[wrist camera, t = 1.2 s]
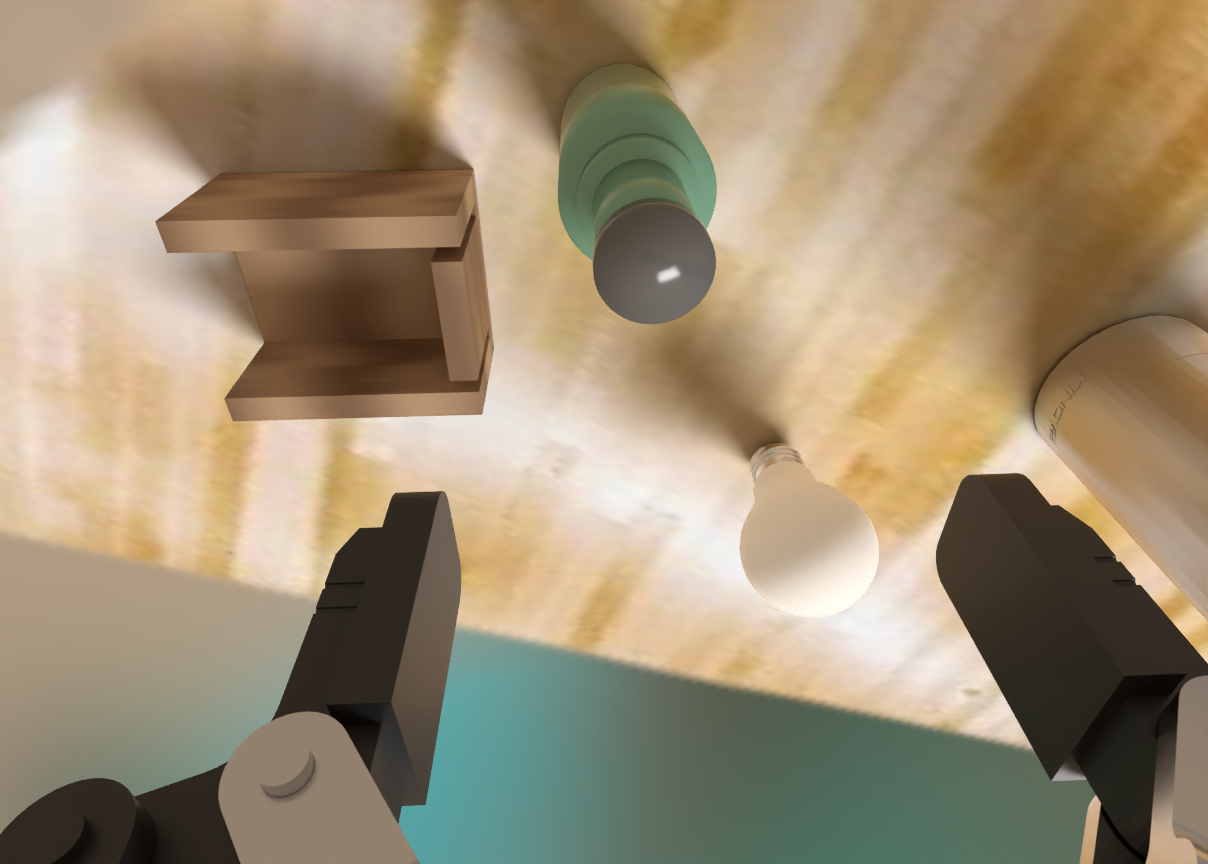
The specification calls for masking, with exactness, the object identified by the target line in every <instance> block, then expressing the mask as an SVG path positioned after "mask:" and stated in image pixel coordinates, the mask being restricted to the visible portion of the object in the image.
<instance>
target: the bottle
mask: <svg viewBox="0 0 1208 864" xmlns="http://www.w3.org/2000/svg"><path fill="white" fill-rule="evenodd" d="M716 187H717V186H716V176H715V172H714V168H713V164H712V162H711V159H710V157H709V154H708V153H707V151H706V149H705V147H704V146H703V144H702V142H701V141H700V139H699V137H698V135H697V134H696V132H695V130H694V129H693V127H692V125H691V124H690V122H689V120H688V118H687V117H686V115H685V113H684V112H683V110H682V108H681V107H680V105H679V103H678V101H677V100H676V98H675V96H674V95H673V93H672V91H671V90H670V88H669V87H668V86H667V84H666V83H665V82H664V81H663V80H662V79H661V78H660V77H659V76H657V75H656V74H655V73H653V72H651V71H650V70H648V69H646V68H643V67H640V66H637V65H633V64H623V63H621V64H612V65H608V66H604V67H602V68H599V69H597V70H595V71H593V72H592V73H590V74H589V75H587V76H586V77H585V78H583V79H582V80H581V81H580V82H579V83H578V84H577V86H576V87H575V88H574V90H573V91H572V92H571V94H570V96H569V98H568V100H567V102H566V104H565V107H564V111H563V114H562V120H561V136H560V159H559V182H558V204H559V211H560V215H561V219H562V222H563V224H564V227H565V229H566V231H567V233H568V235H569V237H570V238H571V240H572V241H573V242H574V244H575V245H576V246H577V247H578V248H579V249H580V250H581V251H582V252H583V253H584V254H585V255H586V256H587V257H589V258H590V259H592V260H593V272H594V280H595V284H596V287H597V290H598V292H599V294H600V296H601V298H602V299H603V301H604V302H605V303H606V305H607V306H608V307H609V308H610V309H611V310H613V311H614V312H615V313H617V314H618V315H620V316H622V317H623V318H625V319H628V320H630V321H634V322H637V323H643V324H659V323H665V322H669V321H672V320H675V319H677V318H679V317H682V316H683V315H685V314H687V313H688V312H690V311H691V310H692V309H693V308H695V307H696V306H697V305H698V304H699V303H700V302H701V300H702V299H703V298H704V297H705V295H706V294H707V292H708V290H709V288H710V286H711V284H712V281H713V278H714V274H715V268H716V258H715V251H714V247H713V244H712V242H711V239H710V237H709V235H708V233H707V230H706V228H707V227H708V224H709V222H710V220H711V217H712V214H713V211H714V207H715V201H716Z"/></svg>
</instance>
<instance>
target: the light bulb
mask: <svg viewBox="0 0 1208 864" xmlns="http://www.w3.org/2000/svg"><path fill="white" fill-rule="evenodd" d="M750 472H751V474H752V477H753V481H754V497H755V502H754V505H753V507H752V509H751V511H750V513H749V514H748V516H747V518H746V520H745V522H744V525H743V528H742V532H741V539H740V555H741V561H742V565H743V568H744V571H745V573H746V576H747V578H748V579H749V581H750V583H751V585H752V586H753V587H754V589H755V590H756V591H757V593H758V594H759V595H760V596H761V597H762V598H763V599H765V600H766V601H767V602H768V603H770V604H771V605H773V606H774V607H776V608H777V609H780V610H782V611H784V612H787V613H789V614H792V615H795V616H800V617H825V616H830V615H833V614H836V613H839V612H841V611H843V610H845V609H847V608H848V607H850V606H851V605H853V604H854V603H855V602H857V601H858V600H859V599H860V598H861V597H862V596H863V595H864V594H865V592H866V591H867V590H868V588H869V586H870V585H871V583H872V581H873V579H874V577H875V573H876V569H877V565H878V560H879V550H878V539H877V536H876V533H875V530H874V527H873V525H872V522H871V520H870V519H869V517H868V516H867V514H866V513H865V511H864V510H863V509H862V507H861V506H860V505H859V504H858V503H857V502H856V501H854V500H853V499H852V498H851V497H849V496H848V495H847V494H846V493H844V492H842V491H840V490H837V489H835V488H833V487H831V486H829V485H826V484H824V483H821V482H819V481H817V480H816V478H815V476H814V475H813V473H812V472H811V471H810V470H809V469H808V468H807V467H806V466H805V465H804V462H803V460H802V457H801V455H800V454H799V452H798V451H797V450H795V449H794V448H793V447H791V446H790V445H788V444H784V443H773V444H768V445H766V446H763V447H760V448H759V449H758V450H757V451H756V452H755V453H754V454H753V456H752V458H751V461H750Z"/></svg>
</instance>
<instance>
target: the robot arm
mask: <svg viewBox="0 0 1208 864" xmlns="http://www.w3.org/2000/svg"><path fill="white" fill-rule="evenodd" d="M1034 420H1035V424H1036V428H1037V431H1038V433H1039V434H1040V436H1041V437H1042V439H1043V440H1044V441H1045V442H1046V443H1047V445H1048V446H1049V447H1050V448H1051V449H1052V450H1053V451H1054V452H1055V453H1056V455H1057V456H1058V457H1059V458H1060V459H1061V460H1062V461H1063V462H1064V463H1065V464H1066V466H1067V467H1068V468H1069V469H1070V470H1071V471H1072V472H1073V473H1074V474H1075V475H1076V477H1077V478H1078V479H1079V480H1080V481H1081V482H1082V484H1083V485H1084V486H1085V487H1086V488H1087V489H1088V490H1089V491H1090V492H1091V493H1092V495H1093V496H1094V497H1095V498H1096V499H1097V500H1098V501H1099V502H1100V503H1101V504H1102V506H1103V507H1104V508H1105V509H1106V510H1107V511H1108V512H1109V513H1110V514H1111V515H1112V517H1113V518H1114V519H1115V520H1116V521H1117V522H1118V523H1119V524H1120V525H1121V526H1122V528H1123V529H1124V530H1125V531H1126V532H1127V533H1128V534H1129V535H1130V536H1131V537H1132V538H1133V540H1134V541H1135V542H1136V543H1137V544H1138V545H1139V546H1140V547H1141V548H1142V549H1143V551H1144V552H1145V553H1146V554H1147V555H1148V556H1149V557H1150V558H1151V559H1152V560H1153V562H1154V563H1155V564H1156V565H1157V566H1158V567H1159V568H1160V569H1161V570H1162V571H1163V572H1164V574H1165V575H1166V576H1167V577H1168V578H1169V579H1170V580H1171V581H1172V582H1173V583H1174V585H1175V586H1176V587H1177V588H1178V589H1179V590H1180V591H1181V592H1182V593H1183V594H1184V596H1185V597H1186V598H1187V599H1188V600H1189V601H1190V602H1191V603H1192V604H1193V605H1194V606H1195V608H1196V609H1197V610H1198V611H1199V612H1200V613H1201V614H1202V615H1203V616H1204V617H1205V619H1206V620H1207V621H1208V333H1207V332H1206V331H1204V330H1203V329H1201V328H1199V327H1198V326H1196V325H1194V324H1193V323H1191V322H1189V321H1187V320H1185V319H1182V318H1177V317H1172V316H1147V317H1142V318H1136V319H1131V320H1128V321H1125V322H1122V323H1120V324H1117V325H1114V326H1111V327H1109V328H1107V329H1105V330H1103V331H1101V332H1099V333H1098V334H1096V335H1094V336H1092V337H1090V338H1089V339H1087V340H1086V341H1085V342H1083V343H1082V344H1080V345H1079V346H1077V347H1076V348H1075V349H1073V350H1072V351H1071V352H1070V353H1069V354H1068V355H1067V356H1066V357H1065V358H1064V359H1063V360H1061V361H1060V362H1059V364H1058V365H1057V366H1056V367H1055V369H1054V370H1053V371H1052V372H1051V374H1050V375H1049V376H1048V377H1047V379H1046V381H1045V383H1044V384H1043V386H1042V388H1041V390H1040V392H1039V395H1038V398H1037V401H1036V404H1035V416H1034ZM936 564H937V571H938V575H939V578H940V581H941V583H942V585H943V587H944V589H945V591H946V592H947V594H948V596H949V598H950V600H951V601H952V603H953V605H954V607H955V609H956V610H957V612H958V614H959V616H960V618H961V619H962V621H963V623H964V625H965V627H966V628H967V630H968V632H969V634H970V636H971V637H972V639H973V641H974V643H975V645H976V646H977V648H978V650H979V652H980V654H981V655H982V657H983V659H984V661H985V663H986V664H987V666H988V668H989V670H990V672H991V673H992V675H993V677H994V679H995V681H996V683H997V684H998V686H999V688H1000V690H1001V692H1002V693H1003V695H1004V697H1005V699H1006V701H1007V702H1008V704H1009V706H1010V708H1011V710H1012V711H1013V713H1014V715H1015V717H1016V719H1017V720H1018V722H1019V724H1020V726H1021V728H1022V729H1023V731H1024V733H1025V735H1026V737H1027V738H1028V740H1029V742H1030V744H1031V746H1032V747H1033V749H1034V751H1035V753H1036V755H1037V756H1038V758H1039V760H1040V762H1041V763H1042V765H1043V767H1044V769H1045V771H1046V773H1047V774H1048V776H1049V778H1050V780H1051V781H1064V780H1087V781H1088V782H1089V784H1090V786H1091V787H1092V789H1093V791H1094V792H1095V794H1096V796H1095V797H1094V798H1093V800H1092V801H1091V803H1090V805H1089V808H1088V812H1087V819H1086V825H1085V832H1084V839H1083V845H1082V852H1081V858H1080V864H1208V664H1207V662H1206V661H1205V660H1204V659H1203V658H1202V657H1201V655H1200V654H1199V653H1198V652H1197V651H1196V650H1195V648H1194V647H1193V646H1192V645H1191V644H1190V642H1189V641H1188V640H1187V639H1186V638H1185V637H1184V635H1183V634H1182V633H1181V632H1180V631H1179V630H1178V628H1177V627H1176V626H1175V625H1174V624H1173V623H1172V621H1171V620H1170V619H1169V618H1168V617H1167V615H1166V614H1165V613H1164V612H1163V611H1162V610H1161V608H1160V607H1159V606H1158V605H1157V604H1156V603H1155V601H1154V600H1153V599H1152V598H1151V597H1150V596H1149V594H1148V593H1147V592H1146V591H1145V590H1144V589H1143V587H1142V586H1141V585H1136V583H1135V578H1134V577H1133V576H1132V574H1131V573H1130V572H1129V571H1128V570H1127V569H1126V567H1125V566H1124V565H1123V564H1122V563H1121V562H1117V561H1116V556H1115V554H1114V553H1113V552H1112V551H1111V550H1110V549H1109V547H1108V546H1107V545H1106V544H1105V543H1104V542H1103V540H1102V539H1101V538H1100V537H1099V536H1098V535H1097V533H1096V532H1095V531H1094V530H1093V529H1092V528H1091V527H1089V526H1088V525H1086V524H1085V523H1084V522H1082V521H1081V520H1079V519H1078V518H1076V517H1075V516H1073V515H1072V514H1071V513H1069V512H1068V511H1066V510H1065V509H1063V508H1062V507H1060V506H1059V505H1052V506H1051V505H1050V504H1049V503H1048V502H1047V500H1046V499H1045V498H1044V497H1043V495H1042V494H1041V493H1040V492H1039V491H1038V489H1037V488H1036V487H1035V486H1034V484H1033V483H1032V482H1031V481H1030V480H1029V479H1028V478H1027V477H1026V476H1024V475H1022V474H1019V473H1009V474H980V475H968V476H966V477H965V478H964V479H963V480H962V482H961V483H960V486H959V488H958V491H957V493H956V496H955V499H954V502H953V504H952V507H951V510H950V512H949V515H948V518H947V520H946V523H945V526H944V528H943V531H942V534H941V536H940V539H939V542H938V545H937V550H936ZM460 594H461V567H460V559H459V554H458V549H457V544H456V538H455V533H454V528H453V523H452V518H451V513H450V508H449V503H448V498H447V495H446V493H445V492H443V491H438V492H409V493H395V494H394V495H393V497H392V499H391V501H390V504H389V507H388V511H387V514H386V517H385V520H384V523H383V526H382V527H379V528H359V529H358V530H357V531H356V533H355V534H354V535H353V536H352V537H351V538H350V539H349V540H348V541H347V542H346V544H345V545H344V546H343V547H342V548H341V549H340V550H339V551H338V552H337V553H336V555H335V558H334V561H333V563H332V566H331V569H330V571H329V574H328V577H327V579H326V582H325V589H323V590H322V593H321V595H320V598H319V601H318V603H317V606H316V614H313V617H312V619H311V622H310V625H309V628H308V630H307V633H306V635H305V638H304V641H303V644H302V646H301V649H300V652H299V654H298V657H297V659H296V662H295V665H294V667H293V670H292V673H291V675H290V678H289V681H288V683H287V686H286V689H285V691H284V694H283V697H282V699H281V702H280V705H279V707H278V709H277V711H276V713H275V716H274V717H273V719H272V721H271V722H269V723H267V724H265V725H264V726H262V727H261V728H259V729H258V730H256V731H255V732H254V733H252V734H251V735H250V736H249V737H248V738H247V739H246V740H244V742H243V743H242V744H241V745H240V746H239V747H238V748H237V749H236V751H235V752H234V753H233V755H232V756H231V758H230V759H229V761H228V762H226V763H224V764H223V765H221V766H219V767H217V768H215V769H212V770H210V771H207V772H205V773H202V774H199V775H196V776H193V777H191V778H188V779H185V780H182V781H179V782H176V783H173V784H170V785H167V786H164V787H162V788H159V789H156V790H153V791H150V792H147V793H144V794H141V795H138V796H135V797H134V796H133V795H132V793H131V792H130V791H129V790H128V789H127V788H126V787H125V786H124V785H122V784H121V783H119V782H116V781H114V780H110V779H104V778H94V779H87V780H81V781H78V782H74V783H71V784H68V785H66V786H64V787H61V788H59V789H56V790H54V791H53V792H51V793H49V794H47V795H45V796H44V797H42V798H41V799H39V800H38V801H36V802H35V803H33V804H32V805H30V806H29V807H28V808H27V809H25V810H24V811H23V812H22V813H21V814H20V815H18V816H17V817H16V818H15V819H14V820H13V821H12V822H11V823H10V824H9V825H8V826H7V827H6V828H5V829H4V831H3V832H2V833H1V834H0V864H420V862H419V861H418V859H417V857H416V855H415V854H414V852H413V850H412V848H411V847H410V845H409V843H408V841H407V839H406V838H405V836H404V834H403V832H402V830H401V829H400V827H399V825H398V823H399V818H400V813H401V807H402V806H411V805H425V804H426V799H427V793H428V787H429V781H430V775H431V769H432V763H433V757H434V751H435V745H436V738H437V733H438V727H439V721H440V715H441V709H442V703H443V697H444V691H445V685H446V680H447V674H448V668H449V662H450V655H451V650H452V644H453V638H454V632H455V626H456V620H457V614H458V608H459V602H460Z"/></svg>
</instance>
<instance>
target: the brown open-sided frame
mask: <svg viewBox="0 0 1208 864" xmlns="http://www.w3.org/2000/svg"><path fill="white" fill-rule="evenodd" d="M155 222H156V225H157V227H158V230H159V232H160V235H161V238H162V240H163V243H164V245H165V248H166V250H167V253H182V252H231V251H235V254H236V257H237V260H238V263H239V266H240V269H241V272H242V275H243V278H244V281H245V284H246V287H247V290H248V293H249V296H250V299H251V302H252V305H253V308H254V311H255V314H256V317H257V320H258V323H259V326H260V329H261V332H262V335H263V339H264V342H265V343H264V344H263V346H262V347H261V348H260V350H259V351H258V353H257V354H256V355H255V357H254V358H253V359H252V361H251V362H250V364H249V365H248V366H247V368H246V369H245V371H244V372H243V373H242V375H241V376H240V378H239V379H238V380H237V382H236V383H235V385H234V386H233V387H232V389H231V390H230V391H229V393H228V394H227V396H226V397H225V398H224V399H225V402H226V404H227V407H228V409H229V412H230V414H231V417H232V420H233V421H260V420H297V419H334V418H371V417H408V416H445V415H481V414H482V413H483V407H484V401H485V396H486V390H487V384H488V379H489V373H490V367H491V362H492V356H493V350H494V345H493V336H492V327H491V318H490V309H489V300H488V291H487V283H486V274H485V265H484V256H483V247H482V238H481V229H480V220H479V211H478V202H477V193H476V185H475V176H474V169H462V170H404V171H345V172H287V173H229V174H220V175H218V176H217V177H215V178H214V179H213V180H211V181H210V182H209V183H207V184H206V185H204V186H203V187H202V188H200V189H199V190H198V191H196V192H195V193H194V194H192V195H191V196H189V197H188V198H187V199H185V200H184V201H183V202H181V203H180V204H179V205H177V206H176V207H174V208H173V209H172V210H170V211H169V212H168V213H166V214H165V215H163V216H162V217H161V218H159V219H158V220H157V221H155Z"/></svg>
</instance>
